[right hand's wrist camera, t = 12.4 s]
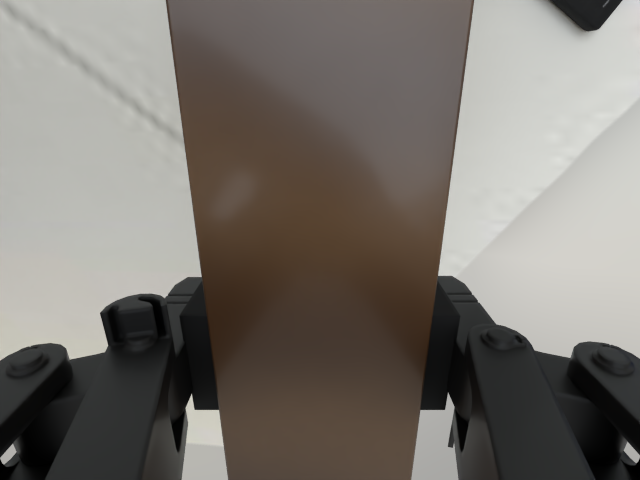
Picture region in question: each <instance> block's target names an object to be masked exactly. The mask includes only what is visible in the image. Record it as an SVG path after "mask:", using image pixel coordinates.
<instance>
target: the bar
mask: <svg viewBox="0 0 640 480" xmlns="http://www.w3.org/2000/svg"><path fill="white" fill-rule="evenodd" d="M473 5H474V0H166V6H167V13H168V21H169V29H170V36H171V44H172V52H173V59H174V67H175V75H176V82H177V90H178V98H179V105H180V113H181V121H182V128H183V136H184V144H185V152H186V159H187V167H188V175H189V182H190V190H191V198H192V205H193V213H194V221H195V228H196V236H197V244H198V251H199V259H200V267H201V274H202V282H203V290H204V297H205V305H206V313H207V320H208V328H209V336H210V343H211V351H212V359H213V366H214V374H215V382H216V389H217V397H218V405H219V413H220V420H221V428H222V436H223V443H224V451H225V459H226V466H227V474H228V480H411V476H412V469H413V461H414V454H415V446H416V438H417V431H418V423H419V415H420V408H421V400H422V393H423V385H424V378H425V370H426V362H427V355H428V347H429V340H430V332H431V324H432V317H433V309H434V302H435V294H436V286H437V279H438V271H439V264H440V256H441V248H442V241H443V233H444V226H445V218H446V210H447V203H448V195H449V187H450V180H451V172H452V165H453V157H454V149H455V142H456V134H457V127H458V119H459V111H460V104H461V96H462V89H463V81H464V73H465V66H466V58H467V51H468V43H469V35H470V28H471V20H472V13H473Z"/></svg>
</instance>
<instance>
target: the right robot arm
mask: <svg viewBox="0 0 640 480" xmlns="http://www.w3.org/2000/svg"><path fill="white" fill-rule="evenodd" d="M100 315H101V318H102V322H103V326H104V330H105V334H106V338H107V342H108V347H107V350H106V352H104V353H100V354H96V355H91V356H86V357H81V358H76V359H71V360H69V356H68V353H67V350H66V348H64V347H63V346H62V345H60V344H53V343H48V344H38V345H33V346H31V347H26V348H23V349H21V350H19V351H17V352H15V353H13V354H10V355H8V356H7V357H5V358H4V359H2V360H1V361H0V457H1V456H2V455H3V454H4V453H5V452H6V450H7V449H8V448H9V447H10V446H11V445H12V444H14V447H15V449H16V451H17V452H16V454H15V455H14V456H13V457H12V458H11V459H10V460H9V461H8V462H7V463H6V464H2V462H1V460H0V480H181V479H182V470H183V462H184V453H185V445H186V436H187V427H188V421H187V414H186V409H185V408H186V405H187V403H188V401H189V398H190V396H191V394H192V396H193V402H194V408H195V410H219V405H218V397H217V389H216V382H215V374H214V366H213V359H212V351H211V343H210V336H209V328H208V320H207V313H206V305H205V297H204V290H203V282H202V277H187V278H186V279H184V280H183V281H181V282H179V283H178V284H176V285H175V286H174V287H173V289H172V290H171V291H170V293H169V294H168V296H166V298H163V297H162V296H160V295H155V294H138V295H133V296H128V297H125V298H122V299H120V300H117V301H115V302H113V303H111V304H110V305H108V306H106V307H105V308H104V309H103V311H102V312H101V313H100ZM448 393H449V395H450V397H451V399H452V402H453V404H454V406H455V409H454V414H453V420H452V426H451V431H450V437H449V443H448V447H452V448H453V444H455V452H456V461H457V469H458V478H459V480H640V459H639V461H638V463H635V462H634V461H633V460H632V459H630V458H629V456H628V455H627V454H626V453H625V452H624V448H625V446H626V444H627V441H628V442H629V443H630V445H631V446H632V447H633V448H634V449H635V450H636V451H637V452H638V454H639V455H640V359H639V358H638V357H636V356H635V355H633V354H631V353H629V352H627V351H625V350H623V349H621V348H619V347H617V346H613V345H609V344H606V343H598V342H583V343H579V344H578V345H576V346H575V347H574V349H573V352H572V355H571V358H567V357H562V356H557V355H552V354H547V353H542V352H538V351H534V349H533V347H532V345H531V344H530V342H529V341H528V340H527V338H526V337H524V336H523V335H521V334H520V333H518V332H517V331H515V330H512V329H510V328H507V327H505V326H501V325H496V324H495V322H494V321H493V320H492V318H491V317H490V316H489V315H488V313H487V312H486V311H485V309H484V308H483V307H482V306H481V304H480V303H478V300H477V299H476V298H475V297H474V295H472V293H471V291H470V290H469V289H468V288H467V286H466V285H465V284H464V283H462V282H461V281H459V280H458V279H456V278H454V277H453V276H438V279H437V286H436V294H435V302H434V309H433V317H432V324H431V332H430V340H429V347H428V355H427V362H426V370H425V378H424V385H423V393H422V400H421V408H420V410H445V406H446V401H447V395H448Z"/></svg>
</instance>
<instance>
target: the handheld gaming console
mask: <svg viewBox="0 0 640 480" xmlns="http://www.w3.org/2000/svg"><path fill="white" fill-rule="evenodd" d="M551 1H553V2H554V3H555V4H556V5H557V6H558V7H559V8H560V9H561V10H563V11H564V12H565V13H566V14H567V15H568V16H569V17H570V18H572V19H573V20H574V21H575V22H576V23H577V24H578V25H579V26H580V27H582V28H583V29H584V30H585V31H594V30H597V29H599V28H600V27H601V26H602V25H603V23H604V22H605V21H606V20H607V19H608V17H609V16H610V15H611V14H612V12H613V11H614V10H615V9H616V8H617V6H618V5H619V4H620V3H621V1H622V0H551Z"/></svg>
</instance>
